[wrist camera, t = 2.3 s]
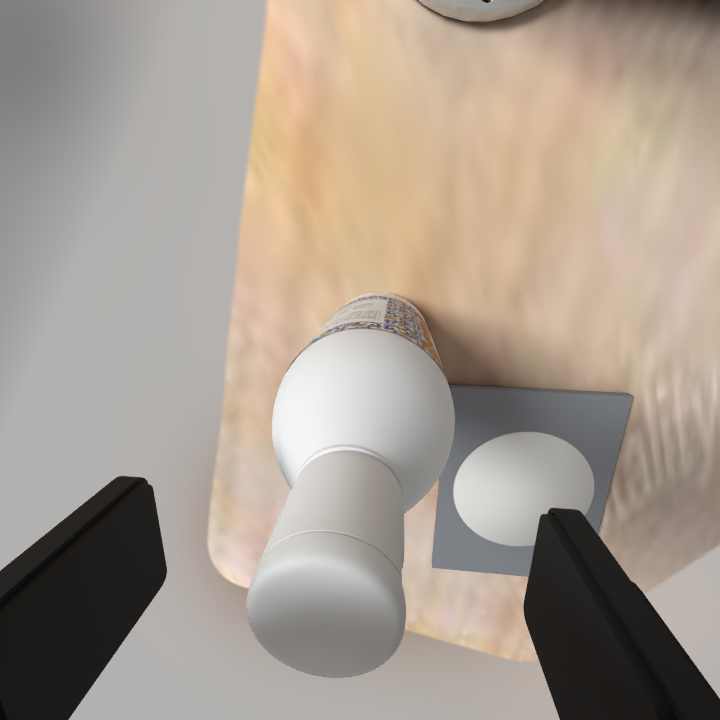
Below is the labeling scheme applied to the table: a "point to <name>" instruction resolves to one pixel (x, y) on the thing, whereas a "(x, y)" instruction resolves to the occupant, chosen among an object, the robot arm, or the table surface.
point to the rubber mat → (522, 470)
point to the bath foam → (350, 486)
